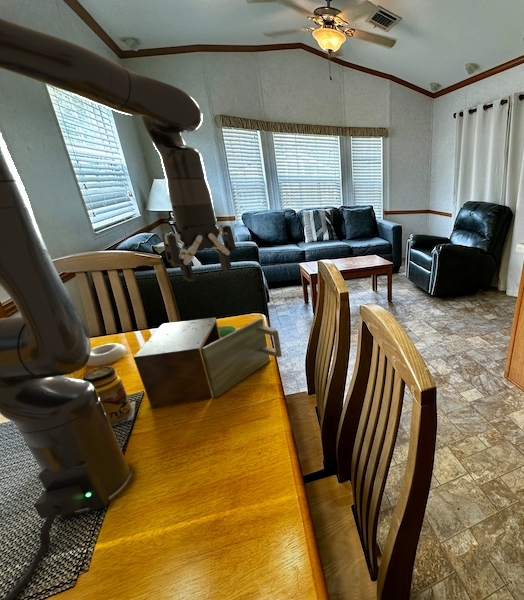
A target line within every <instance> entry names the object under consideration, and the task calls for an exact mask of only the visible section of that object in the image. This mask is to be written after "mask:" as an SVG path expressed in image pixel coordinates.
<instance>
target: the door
mask: <svg viewBox="0 0 524 600" xmlns="http://www.w3.org/2000/svg"><path fill="white" fill-rule="evenodd" d="M267 335H268V336H272V338H273V339H272V340H273V345H274V348H272V347H268V342H267ZM201 349H202V352H203V356H204V360H205V364H206V368H207V371H208V375H209V379H210V383H211V386H212V390H213V396H214V397H215V398H217V397H219V396H221V395H222V394H223V393H225V392H226V391H228V390H229V389H231V388H232V387H234V386H236V385H237V384H238V383H240V382H241V381H242V380H244V379H245V378H247V377H248V376H250V375H251V374H253V373H255V372H256V371H257V370H259V369H260V368H261V367H264V365H266V364H267V363H269V362H271V357H270V356H272V357H276V358H281V357H282V356H283V355H282V347H281V342H280V336H279V329H277V328H272V327H268V326H265V325H264V319H263V318H260V317H259V318H258V319H255V320H253V321H252V322H250V323H248V324H246V325H244V326H242V327H240V328H238V329H237V330H236V331H234V332H232V333H230V334H228V335H226V336H224V337H222V338H220V339H218V340H216V341H214V342H212V343H211V344H209V345H207V346H205V347H203V348H201Z"/></svg>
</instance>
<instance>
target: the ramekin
mask: <svg viewBox="0 0 524 600" xmlns="http://www.w3.org/2000/svg"><path fill="white" fill-rule="evenodd" d="M218 329H219V333H220V337H221V338H222V337H224V336H226V335H228V334H230V333H232V332H234V331H236V330H238V329H237V327H235V326H233V325H221V326H218Z"/></svg>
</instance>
